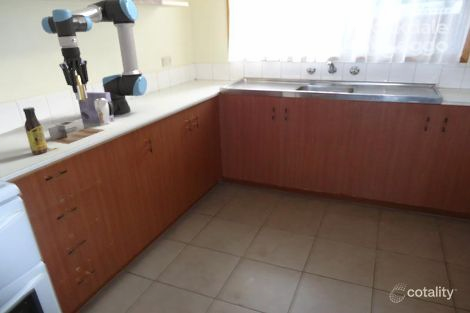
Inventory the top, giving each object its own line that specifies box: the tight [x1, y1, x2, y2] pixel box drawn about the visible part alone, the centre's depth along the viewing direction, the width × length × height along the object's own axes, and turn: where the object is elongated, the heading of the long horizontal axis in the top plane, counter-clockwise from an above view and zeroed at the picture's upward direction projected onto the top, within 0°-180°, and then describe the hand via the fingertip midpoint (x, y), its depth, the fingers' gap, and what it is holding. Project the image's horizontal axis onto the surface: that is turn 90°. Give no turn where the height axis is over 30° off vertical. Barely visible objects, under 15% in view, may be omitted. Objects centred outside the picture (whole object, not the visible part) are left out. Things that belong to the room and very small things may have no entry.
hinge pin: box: [75, 74, 86, 103], centre depth 152 cm, size 3×3×12 cm
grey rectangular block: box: [47, 125, 77, 140], centre depth 156 cm, size 12×6×6 cm, turn 155°
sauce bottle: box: [22, 106, 49, 155], centre depth 139 cm, size 7×6×20 cm
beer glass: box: [94, 98, 112, 126], centre depth 174 cm, size 7×7×15 cm
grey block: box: [55, 118, 85, 138], centre depth 161 cm, size 12×6×6 cm, turn 155°
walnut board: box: [45, 127, 105, 145], centre depth 160 cm, size 22×16×2 cm
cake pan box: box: [77, 91, 115, 124], centre depth 181 cm, size 19×5×18 cm, turn 77°
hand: (82, 98), depth 154 cm, fingers closed on hinge pin, 3 cm apart
